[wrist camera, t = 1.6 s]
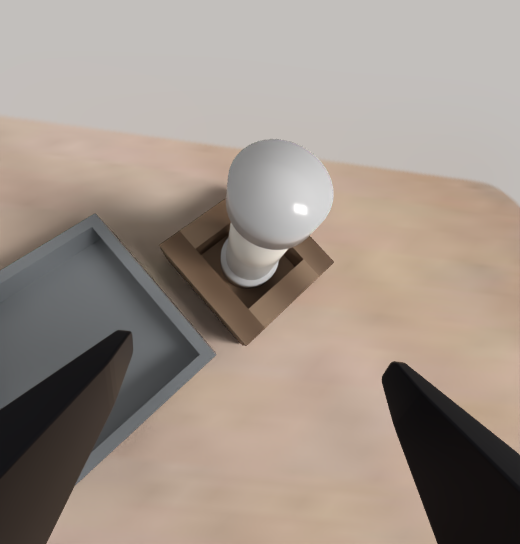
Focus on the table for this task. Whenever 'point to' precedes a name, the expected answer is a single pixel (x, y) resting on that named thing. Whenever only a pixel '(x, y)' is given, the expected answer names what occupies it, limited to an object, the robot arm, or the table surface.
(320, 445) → the table surface
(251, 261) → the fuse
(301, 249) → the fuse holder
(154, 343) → the parts tray
